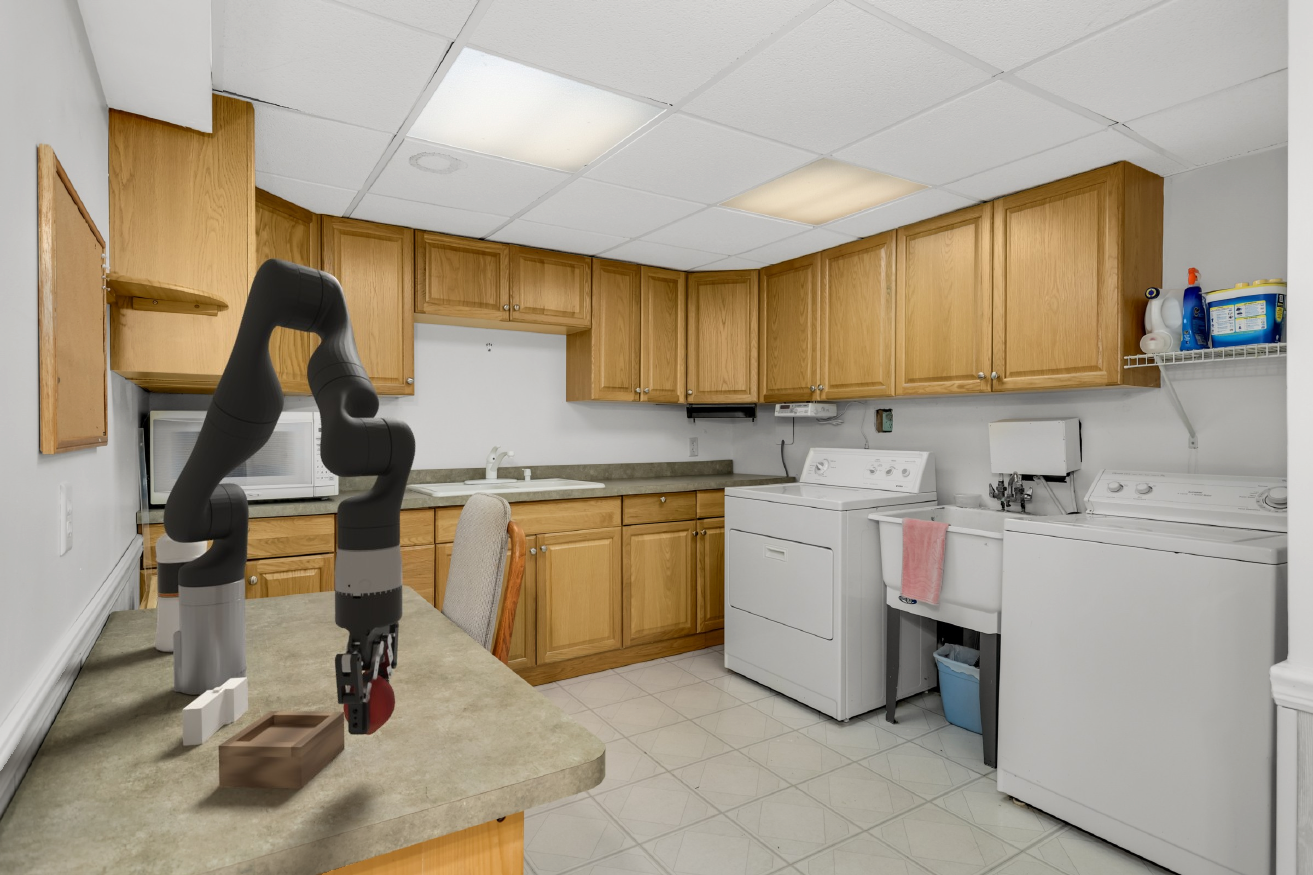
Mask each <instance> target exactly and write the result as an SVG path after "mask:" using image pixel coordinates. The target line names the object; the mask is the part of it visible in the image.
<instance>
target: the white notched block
mask: <svg viewBox="0 0 1313 875" xmlns="http://www.w3.org/2000/svg"><path fill="white" fill-rule="evenodd" d="M248 683H249V682H248V677H247V676H246V677H244V678H230V679H229V680H228V681H227V682H225V683H224V684H223V685H221V686H220V687H216V688H215V689H213V690H207V691H206V692H205V693H203V694H200V695H199V696H198V697H197V698H195V699H194V700H193V701H192V702H190V703H189V704H188V705H186V706H185V707H184V708H183V709H182V711H181V712H182V742H183V743H182V746H196V745H203V744H205V743H206V742H207V741H208V739H210V738H211V737H212V736H213V735H214V734H215V733H216V732H218V731H219V729H220V730H221V728H222V727H223V726H224V725H231V724H232V723H235V722H236V721H238V719H240V718H241V716H243V715H244V714H245V713H246V712H247V711H248V710H249V697H248V696H249V689H248V687H249V686H248Z"/></svg>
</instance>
